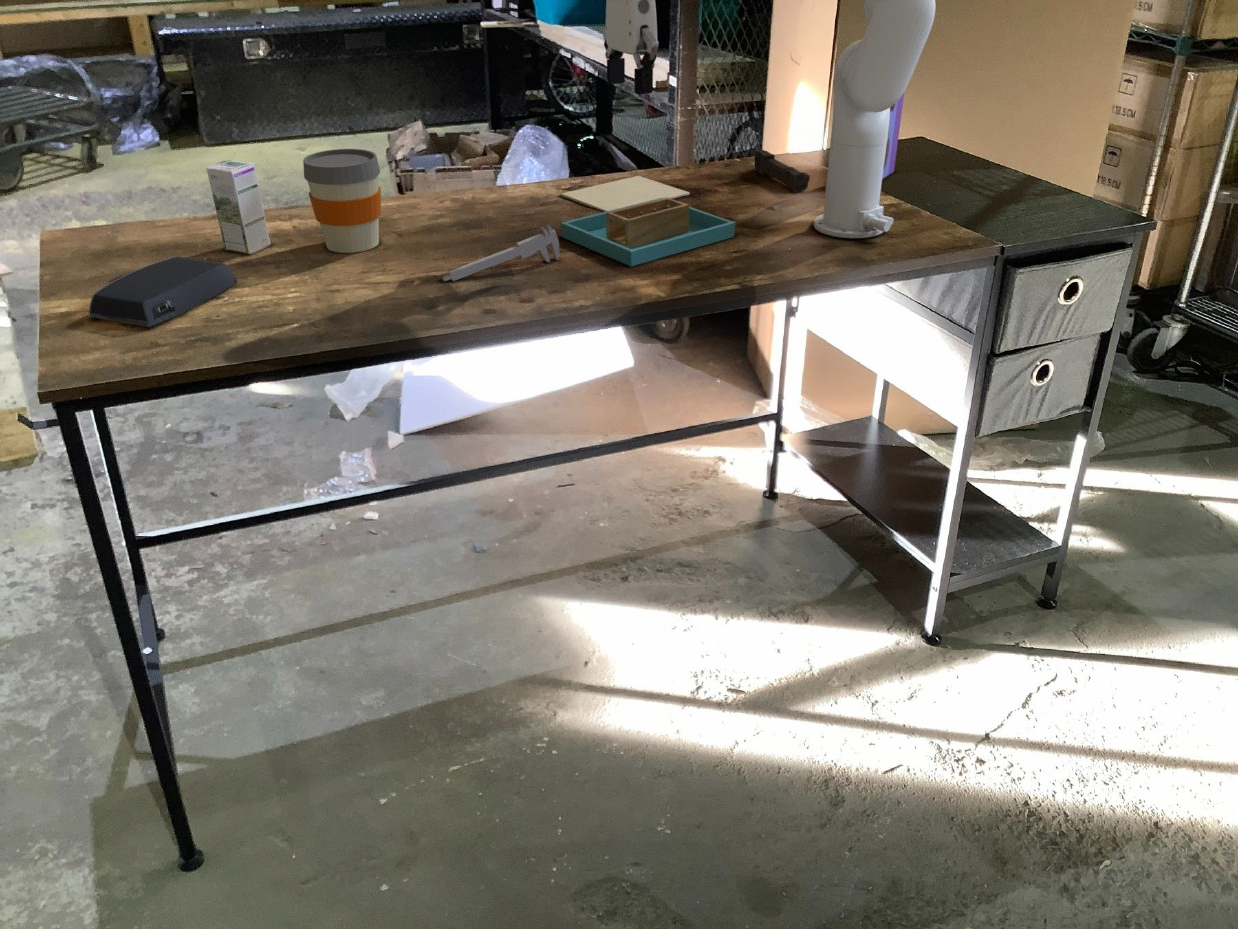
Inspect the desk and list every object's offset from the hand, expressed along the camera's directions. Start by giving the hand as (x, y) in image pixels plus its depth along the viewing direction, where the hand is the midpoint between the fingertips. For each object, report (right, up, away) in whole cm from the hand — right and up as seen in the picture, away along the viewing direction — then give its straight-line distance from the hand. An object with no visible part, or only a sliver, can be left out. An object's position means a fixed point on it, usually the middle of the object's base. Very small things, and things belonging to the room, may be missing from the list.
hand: (629, 88), depth 172 cm
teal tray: (+3, -23, +8) cm, 25 cm away
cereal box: (+50, -5, +38) cm, 63 cm away
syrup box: (-67, -26, +5) cm, 72 cm away
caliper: (-21, -32, -5) cm, 39 cm away
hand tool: (+30, -5, +38) cm, 49 cm away
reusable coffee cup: (-49, -25, +7) cm, 55 cm away
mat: (-1, -10, +30) cm, 32 cm away
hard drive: (-71, -39, -15) cm, 83 cm away
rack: (+3, -23, +8) cm, 25 cm away
